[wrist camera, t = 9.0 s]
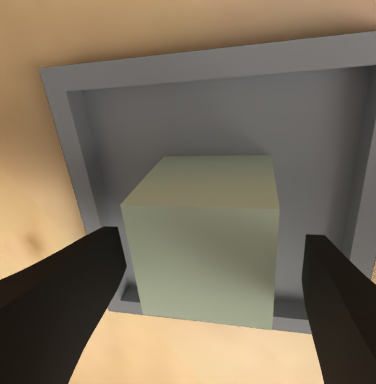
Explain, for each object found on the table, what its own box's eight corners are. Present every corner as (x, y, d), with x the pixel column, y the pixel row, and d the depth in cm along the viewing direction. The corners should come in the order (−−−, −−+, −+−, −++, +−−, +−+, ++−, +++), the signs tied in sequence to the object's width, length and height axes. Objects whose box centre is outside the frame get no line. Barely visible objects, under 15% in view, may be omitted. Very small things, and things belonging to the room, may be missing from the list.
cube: (271, 155, 13) (279, 209, 8) (267, 247, 15) (271, 330, 10) (163, 156, 14) (120, 204, 9) (174, 241, 16) (142, 314, 11)
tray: (400, 30, 10) (429, 25, 9) (346, 308, 16) (357, 339, 14) (66, 66, 14) (38, 68, 12) (122, 287, 19) (108, 311, 18)
